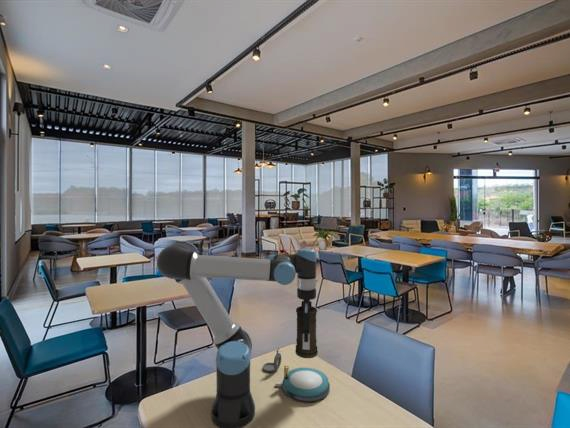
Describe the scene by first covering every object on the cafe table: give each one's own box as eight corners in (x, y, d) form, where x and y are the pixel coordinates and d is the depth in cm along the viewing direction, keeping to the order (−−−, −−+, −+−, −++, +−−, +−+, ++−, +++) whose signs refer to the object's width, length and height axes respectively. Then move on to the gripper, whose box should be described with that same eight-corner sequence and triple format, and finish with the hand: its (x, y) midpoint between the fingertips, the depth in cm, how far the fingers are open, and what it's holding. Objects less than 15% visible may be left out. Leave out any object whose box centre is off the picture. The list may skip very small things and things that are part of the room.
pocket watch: (262, 365, 141) (262, 344, 141) (280, 363, 142) (280, 342, 142) (264, 375, 133) (264, 352, 133) (283, 373, 134) (283, 350, 134)
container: (316, 359, 118) (316, 313, 118) (293, 357, 120) (293, 311, 120) (318, 348, 127) (319, 305, 127) (297, 346, 129) (297, 304, 128)
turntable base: (272, 400, 116) (272, 396, 116) (278, 372, 135) (278, 369, 135) (330, 404, 114) (330, 400, 114) (328, 375, 133) (328, 372, 133)
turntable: (328, 372, 132) (328, 359, 131) (328, 399, 114) (328, 383, 114) (287, 369, 134) (287, 355, 134) (280, 394, 117) (280, 379, 116)
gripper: (316, 296, 112) (315, 357, 113) (315, 281, 133) (315, 333, 134) (295, 295, 113) (295, 356, 114) (298, 280, 133) (298, 332, 134)
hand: (306, 343), depth 124 cm, fingers closed on container, 8 cm apart
